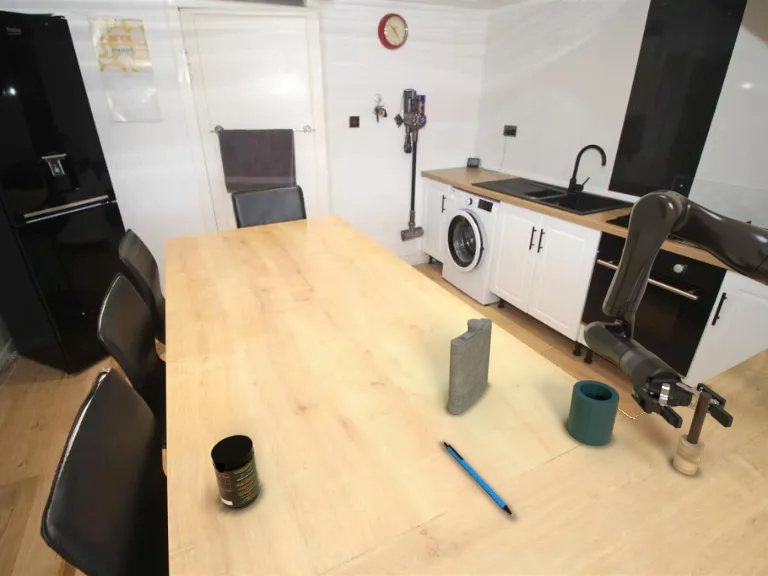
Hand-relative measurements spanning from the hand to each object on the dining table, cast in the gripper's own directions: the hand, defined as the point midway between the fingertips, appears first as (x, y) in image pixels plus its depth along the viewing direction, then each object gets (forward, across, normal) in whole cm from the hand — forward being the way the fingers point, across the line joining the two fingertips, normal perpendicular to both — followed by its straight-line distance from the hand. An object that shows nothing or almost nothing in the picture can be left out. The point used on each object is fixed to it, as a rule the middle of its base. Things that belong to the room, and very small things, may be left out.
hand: (705, 423), depth 70 cm
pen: (0, -39, +11) cm, 41 cm away
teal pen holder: (-12, -13, +11) cm, 21 cm away
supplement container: (+3, -81, +11) cm, 82 cm away
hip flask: (-24, -35, +11) cm, 44 cm away
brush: (-2, 0, +11) cm, 11 cm away
